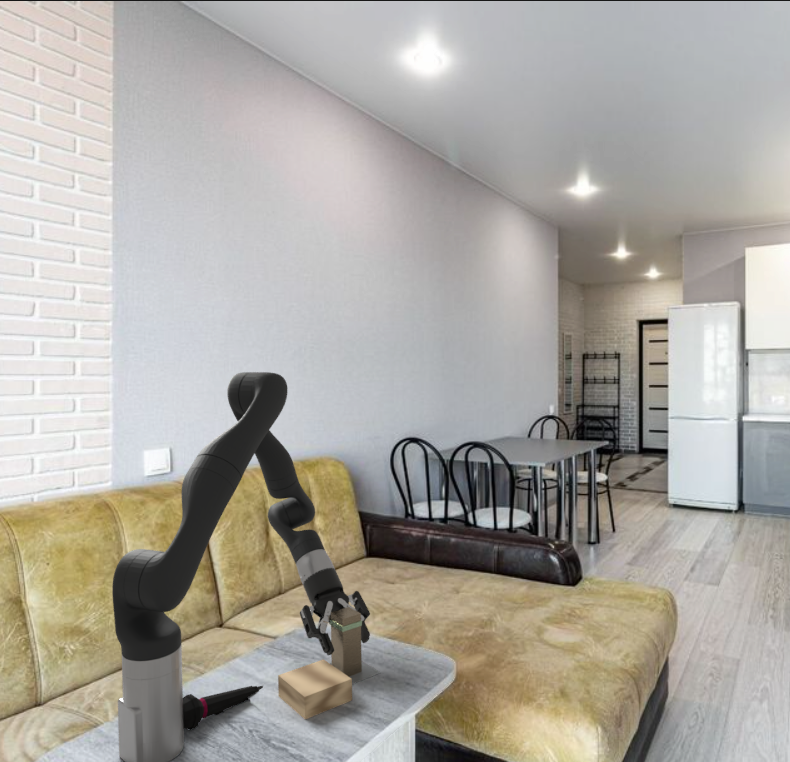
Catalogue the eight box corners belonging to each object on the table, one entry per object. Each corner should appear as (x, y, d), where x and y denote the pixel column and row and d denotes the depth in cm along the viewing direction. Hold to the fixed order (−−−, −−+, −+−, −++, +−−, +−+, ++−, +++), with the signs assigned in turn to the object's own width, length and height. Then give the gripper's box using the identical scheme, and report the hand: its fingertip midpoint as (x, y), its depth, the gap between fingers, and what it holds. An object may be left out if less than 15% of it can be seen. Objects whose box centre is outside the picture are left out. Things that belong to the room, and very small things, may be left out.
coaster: (339, 694, 121) (339, 688, 121) (312, 674, 129) (312, 669, 129) (381, 677, 127) (380, 672, 127) (353, 659, 135) (353, 655, 135)
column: (343, 679, 125) (342, 619, 124) (330, 670, 128) (329, 612, 128) (362, 671, 128) (361, 613, 127) (349, 663, 131) (348, 606, 131)
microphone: (262, 702, 124) (167, 734, 110) (259, 671, 126) (165, 698, 111) (279, 702, 121) (184, 736, 106) (276, 670, 123) (181, 699, 108)
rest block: (305, 724, 111) (304, 696, 111) (278, 701, 119) (278, 675, 119) (352, 705, 117) (351, 678, 117) (324, 684, 125) (323, 659, 125)
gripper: (295, 574, 129) (326, 649, 120) (352, 560, 138) (385, 628, 129) (283, 592, 133) (312, 666, 125) (340, 577, 142) (370, 645, 133)
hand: (349, 647), depth 127 cm, fingers open, 8 cm apart
